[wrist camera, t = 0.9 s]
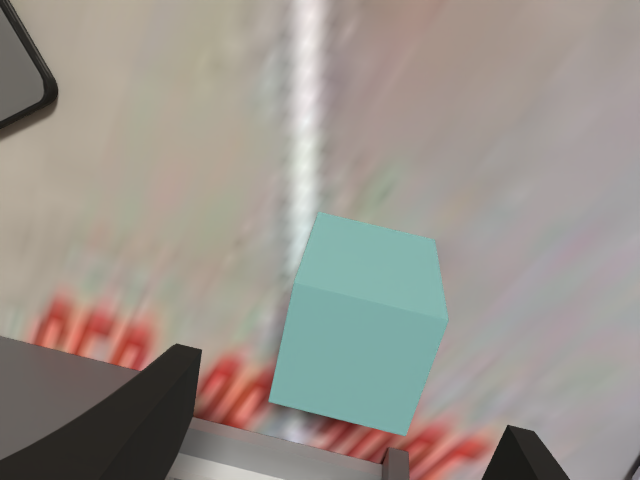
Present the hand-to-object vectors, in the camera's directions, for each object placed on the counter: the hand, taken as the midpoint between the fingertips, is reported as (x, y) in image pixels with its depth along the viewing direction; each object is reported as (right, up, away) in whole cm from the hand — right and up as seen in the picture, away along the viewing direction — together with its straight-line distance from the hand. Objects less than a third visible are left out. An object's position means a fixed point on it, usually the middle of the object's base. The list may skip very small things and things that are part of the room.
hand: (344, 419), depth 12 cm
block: (+1, +3, +6) cm, 7 cm away
